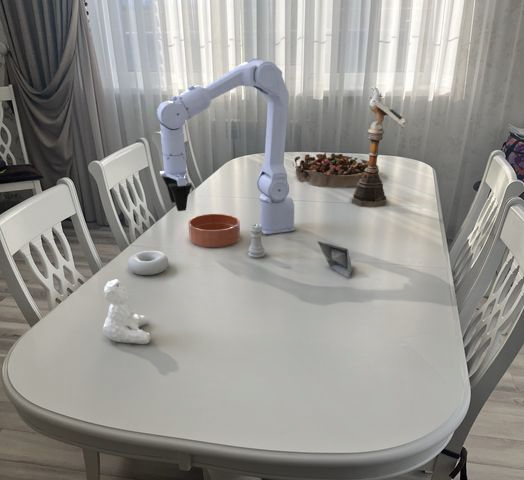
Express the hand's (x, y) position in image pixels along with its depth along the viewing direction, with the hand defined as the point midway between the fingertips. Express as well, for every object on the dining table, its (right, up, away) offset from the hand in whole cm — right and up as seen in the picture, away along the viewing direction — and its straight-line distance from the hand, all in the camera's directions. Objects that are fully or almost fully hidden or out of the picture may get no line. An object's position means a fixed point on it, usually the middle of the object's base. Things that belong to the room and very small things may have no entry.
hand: (178, 206), depth 146 cm
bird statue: (+60, +11, +36) cm, 71 cm away
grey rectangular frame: (+40, -19, -10) cm, 45 cm away
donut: (-6, -18, -10) cm, 22 cm away
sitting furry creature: (-5, -36, -38) cm, 52 cm away
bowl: (+9, -7, +7) cm, 14 cm away
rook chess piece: (+21, -14, -3) cm, 25 cm away
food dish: (+50, +29, +65) cm, 87 cm away
